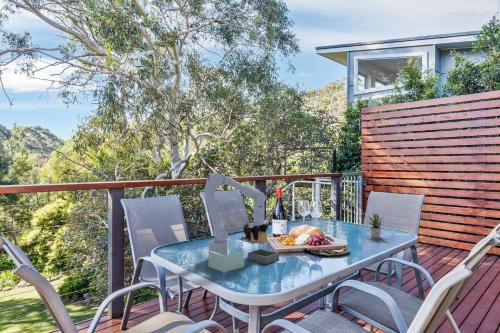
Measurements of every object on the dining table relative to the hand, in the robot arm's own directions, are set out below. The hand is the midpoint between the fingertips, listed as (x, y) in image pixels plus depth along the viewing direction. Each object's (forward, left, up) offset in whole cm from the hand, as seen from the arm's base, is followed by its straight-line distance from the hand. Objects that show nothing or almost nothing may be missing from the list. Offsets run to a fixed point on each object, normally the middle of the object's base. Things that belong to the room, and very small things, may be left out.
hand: (258, 239), depth 189 cm
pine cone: (+27, +26, -9) cm, 38 cm away
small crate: (0, 0, -1) cm, 1 cm away
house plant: (+83, -30, -9) cm, 88 cm away
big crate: (-5, -8, -8) cm, 12 cm away
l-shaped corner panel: (-26, -1, -9) cm, 27 cm away
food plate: (+31, -24, -9) cm, 40 cm away
